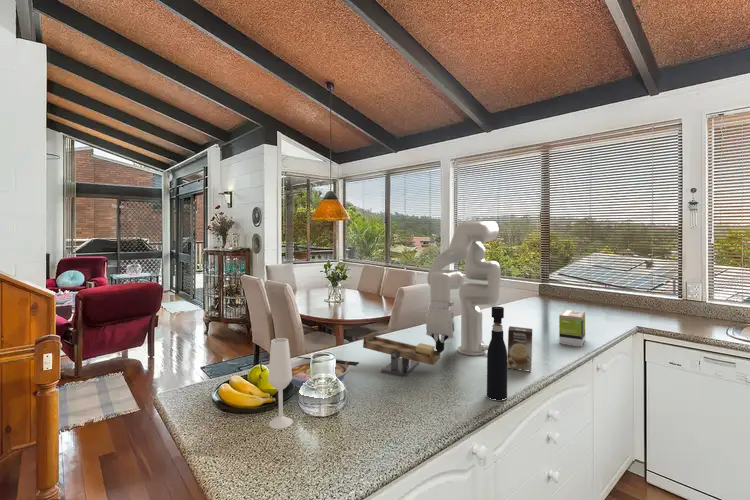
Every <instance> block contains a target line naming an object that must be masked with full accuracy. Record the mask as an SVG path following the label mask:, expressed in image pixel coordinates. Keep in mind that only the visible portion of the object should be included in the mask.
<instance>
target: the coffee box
mask: <svg viewBox="0 0 750 500" xmlns="http://www.w3.org/2000/svg"><path fill="white" fill-rule="evenodd" d="M507 331H508V332H507V335H508V336H507V368H512V369H511V370H513V369H521V370H529V371H531V372H532V364H533V362H532V361H533V355H532V354H533V328H528V327H520V326H519V327H518V326H511V325H510V326H509V327H508V330H507Z"/></svg>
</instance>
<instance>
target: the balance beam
mask: <svg viewBox="0 0 750 500" xmlns="http://www.w3.org/2000/svg"><path fill="white" fill-rule="evenodd" d="M376 333H377V332H376V331H372V332H371V333H368V334H367V335H365V336H364V337H363V340H362V341H363V345H362V348H364V349H367V350H371V351H375V352H379V353H383V354H387V355H390V356H391V352H399V353H400V358H406V359H410V360H414V361H417V362H419V363H420V364H421V363H422V364H425V365H429V366H434V365H435V364H436V363H437V362H438V361H439V360H440V359H441V353H440V352H437V350H436V349H434V355H433V356H432V357H429V356H425V355H421V354H417V353H415V351H416V346H417V345H413V344H409V343H405V342H401V341H397V340H392V339H389V338H385V337H384V338H383V337H380V336H376V335H377V334H376Z"/></svg>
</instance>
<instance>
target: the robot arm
mask: <svg viewBox="0 0 750 500" xmlns="http://www.w3.org/2000/svg"><path fill="white" fill-rule="evenodd" d="M499 231H500V230H499V226H498V224H497V222H496V221H495V220H494V221H493V220H487V221H486V220H485V221H483V220H482V221H481V220H479V221H478V220H477V221H474V220H473V221H466V222H465V221H464V222H461V223H459V224H458V225H457V226H456V228H455V230H454V234H453V235H452V236H453V237H452V238H451V241H450V244H449V247H448V248H446V249H445V250H444V251H442V252H441V253H440V254H438V255H437V256H436V257H435V258H434V259H433V260H432V263H431V265H430V267H429V270H428V272H427V279H426V280H427V284H428V285H429V286H430V288H429V289H430V290H429V291H430V295H429V297H430V298H429V299H430V300H429V305H430V306H429V307H428V309H427V315H426V323H425V324H426V325H425V326H426V333H425V334H426V335H427V336H428V337H430V338H432V339H433V340H434V342H435V350H436V351H437V352H440V354H441V353H443V352H444V351H445V342H446V341H447V340H448V339H454V338H455V334H454V333H455V318H454V310H453V307H454V305H455V302H453V301H451V290H459V291H458V294H459V295H458V296H459V301H460V314H461V315H460V346H458V347H457V352H459V353H460V354H462V355H466V356H477V357H478V356H483V355H485V354H486V352H487V351H488V347H489V344H485V341H483V320H484V319H483V311H482V310H481V308H480V307H479V306H487V307H495V306H497V304H498V303H499V299H500V290H501V289H500V288H501V277H502V275H501V273H502V271H501V266H500V264H499V262H497V261H495V260H486V248H485V246H484V245H483V244H482V243H487V242H488V243H489V242H490V241H494V240H495V239H497V237H498V235H499ZM463 260H465V266H464V275H463V273H462V272H461V271H459V270H452V269H451V270H450V269H444V268H446V267H447V266H449V265H453V264H454V263H458V262H460V261H463ZM464 276H465V277H464ZM464 278H466V279H467V280H469V281H477V282H487V283H486V284H485V283H475V282H469V283H464V280H465V279H464ZM440 335H441V336H440Z"/></svg>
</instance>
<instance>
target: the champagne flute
mask: <svg viewBox="0 0 750 500" xmlns="http://www.w3.org/2000/svg"><path fill="white" fill-rule="evenodd" d="M291 363H292V361H291V352H290V344H289V339H288V338H285V337H279V338H274V339H272V340H270V352H269V364H268V377H267V379H268V383H269V384H270V385H271V387H272V388H274V389H275V390H277V392H278V393H277V395H278V396H277V397H278V415H277V417H275V418H274V419H272V420H270V421H269V423H268V426H269V428H272V429H275V430H281V429H285V428H288V427H290V426H292V424H293V422H294V421H293V419H292V418H290V417H287V416H284V406H283V405H284V404H283V403H284V399H283V398H284V397H283V396H284V394H283V390H284V389H286V388H287V387H288V386H289V385H290V383H292V382H291V380H292V369H291Z"/></svg>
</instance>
